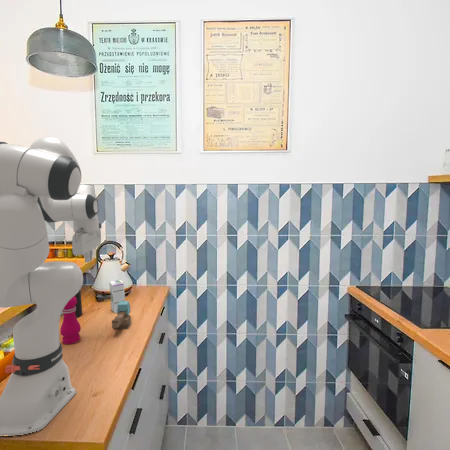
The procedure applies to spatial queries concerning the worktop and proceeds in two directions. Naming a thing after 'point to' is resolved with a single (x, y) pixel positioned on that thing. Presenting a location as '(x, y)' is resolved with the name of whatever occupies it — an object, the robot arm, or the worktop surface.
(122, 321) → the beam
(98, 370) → the worktop surface
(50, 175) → the robot arm
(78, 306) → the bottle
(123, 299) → the syrup box
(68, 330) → the pepper mill
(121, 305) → the rider
